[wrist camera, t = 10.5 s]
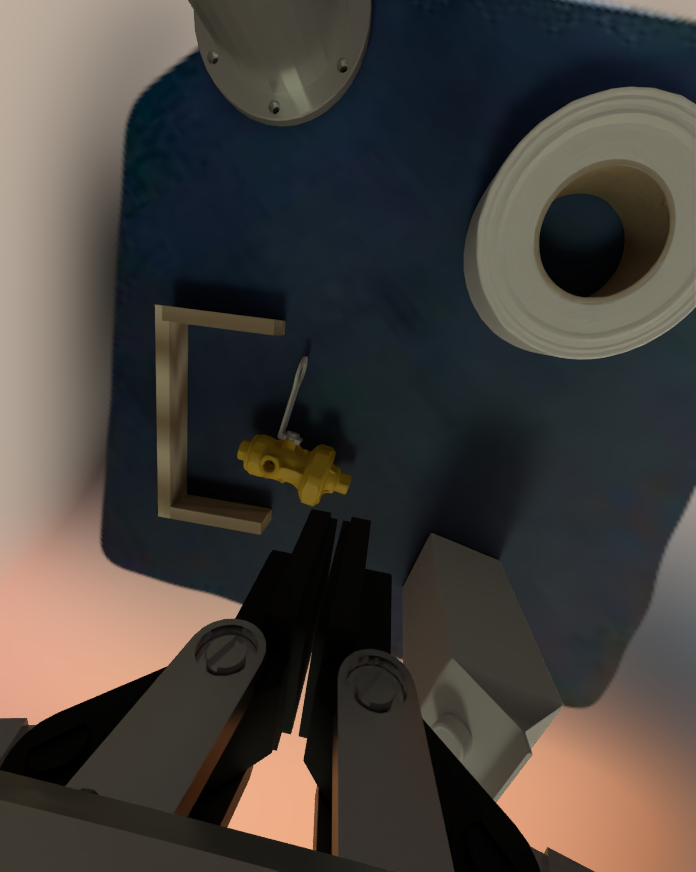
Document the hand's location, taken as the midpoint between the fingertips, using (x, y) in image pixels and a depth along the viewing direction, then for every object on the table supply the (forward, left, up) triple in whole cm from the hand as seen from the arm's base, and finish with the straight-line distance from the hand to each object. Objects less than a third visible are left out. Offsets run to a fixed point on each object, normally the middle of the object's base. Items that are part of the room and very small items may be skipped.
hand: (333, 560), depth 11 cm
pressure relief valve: (+2, -11, -22) cm, 25 cm away
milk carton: (+16, +9, -25) cm, 31 cm away
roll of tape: (-14, +13, -25) cm, 31 cm away
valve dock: (+4, -14, -25) cm, 28 cm away
